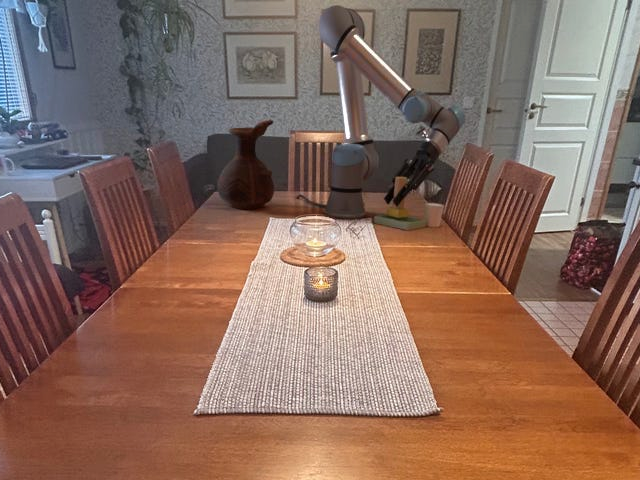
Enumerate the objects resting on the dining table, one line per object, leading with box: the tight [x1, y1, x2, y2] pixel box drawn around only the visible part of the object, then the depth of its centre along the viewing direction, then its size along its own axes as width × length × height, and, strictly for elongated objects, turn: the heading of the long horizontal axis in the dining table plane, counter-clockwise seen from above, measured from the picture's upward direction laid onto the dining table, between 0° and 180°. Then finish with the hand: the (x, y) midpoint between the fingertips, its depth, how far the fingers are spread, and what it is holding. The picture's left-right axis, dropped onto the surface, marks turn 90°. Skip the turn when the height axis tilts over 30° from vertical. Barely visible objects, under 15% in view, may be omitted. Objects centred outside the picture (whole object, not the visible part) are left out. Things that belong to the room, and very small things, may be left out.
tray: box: [373, 213, 427, 231], centre depth 210 cm, size 15×10×2 cm
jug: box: [216, 119, 276, 210], centre depth 222 cm, size 22×22×30 cm
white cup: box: [423, 202, 445, 228], centre depth 210 cm, size 7×7×7 cm
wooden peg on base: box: [386, 177, 410, 218], centre depth 209 cm, size 6×5×12 cm
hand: (390, 202), depth 208 cm, fingers closed on wooden peg on base, 4 cm apart
